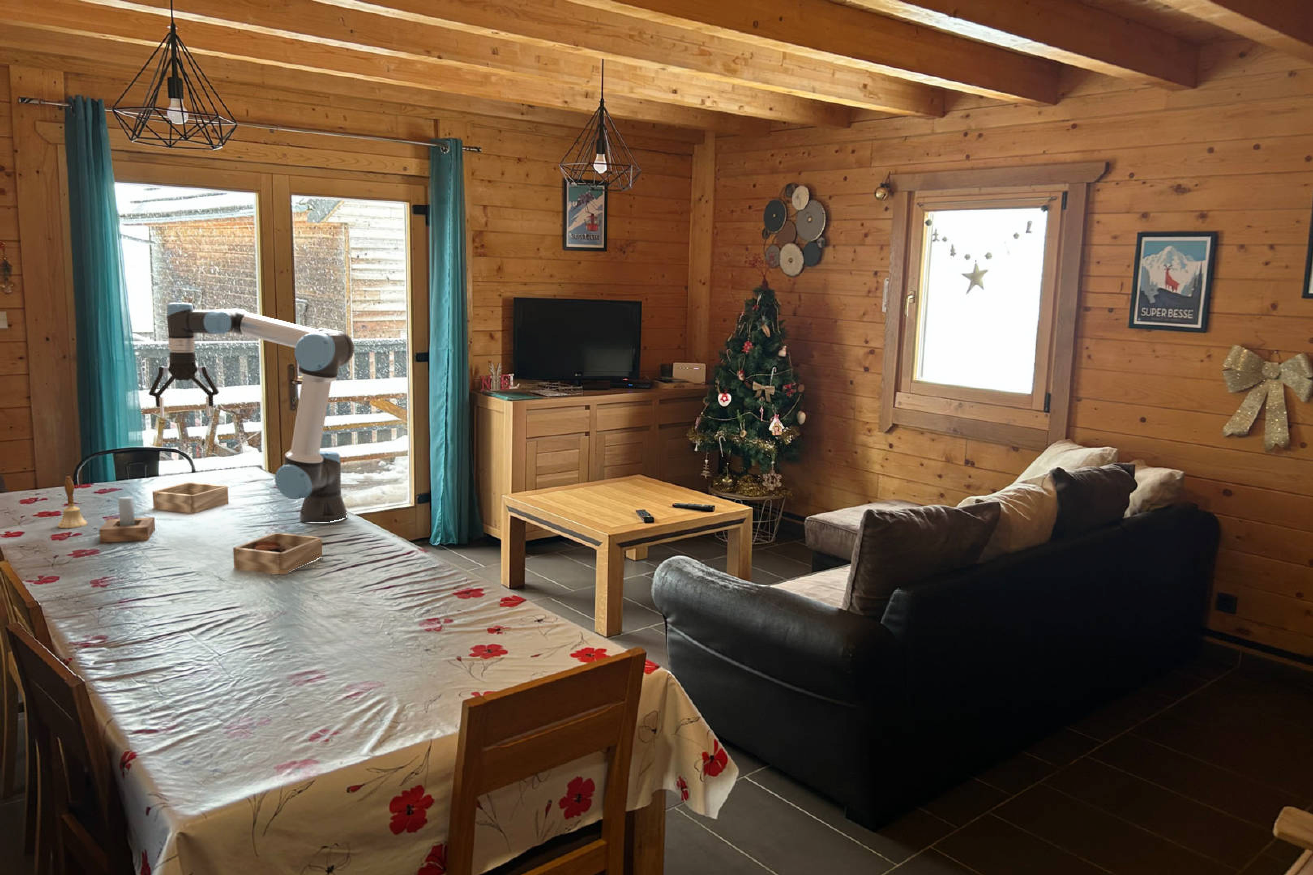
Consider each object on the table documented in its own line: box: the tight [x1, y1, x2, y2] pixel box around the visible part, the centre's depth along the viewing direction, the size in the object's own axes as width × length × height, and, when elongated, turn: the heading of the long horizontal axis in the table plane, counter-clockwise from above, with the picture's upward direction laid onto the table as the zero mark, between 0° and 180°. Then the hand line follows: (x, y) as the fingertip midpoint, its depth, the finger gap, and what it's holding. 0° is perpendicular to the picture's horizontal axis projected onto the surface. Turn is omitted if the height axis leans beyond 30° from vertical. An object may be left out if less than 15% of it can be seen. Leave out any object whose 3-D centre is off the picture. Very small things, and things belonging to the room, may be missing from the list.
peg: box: [118, 496, 136, 526], centre depth 298 cm, size 4×4×12 cm
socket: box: [98, 516, 156, 543], centre depth 299 cm, size 13×13×4 cm
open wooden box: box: [232, 532, 323, 575], centre depth 275 cm, size 16×18×6 cm
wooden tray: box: [152, 482, 229, 514], centre depth 339 cm, size 17×17×6 cm
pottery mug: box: [252, 541, 286, 553], centre depth 273 cm, size 12×10×8 cm
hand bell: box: [57, 475, 89, 529], centre depth 309 cm, size 8×8×16 cm
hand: (185, 416), depth 314 cm, fingers open, 13 cm apart
